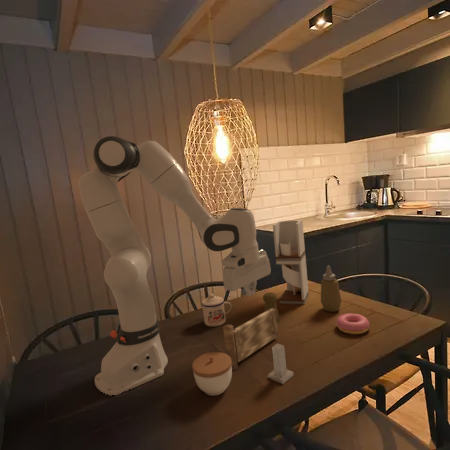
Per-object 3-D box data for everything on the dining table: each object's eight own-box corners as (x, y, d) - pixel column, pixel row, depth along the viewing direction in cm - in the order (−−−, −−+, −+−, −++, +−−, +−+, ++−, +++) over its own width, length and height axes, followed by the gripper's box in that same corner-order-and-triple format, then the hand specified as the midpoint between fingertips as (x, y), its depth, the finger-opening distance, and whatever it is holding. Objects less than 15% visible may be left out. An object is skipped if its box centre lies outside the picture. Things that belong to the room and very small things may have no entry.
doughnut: (353, 319, 120) (353, 308, 119) (377, 330, 110) (376, 319, 109) (329, 326, 116) (329, 315, 116) (352, 339, 106) (351, 327, 105)
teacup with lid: (207, 329, 125) (203, 300, 124) (201, 320, 134) (198, 293, 132) (236, 321, 129) (233, 293, 127) (228, 313, 138) (225, 287, 136)
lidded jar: (187, 392, 88) (183, 360, 87) (214, 372, 96) (210, 342, 95) (215, 407, 81) (211, 372, 80) (242, 384, 89) (238, 352, 88)
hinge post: (232, 371, 95) (227, 330, 94) (225, 368, 98) (220, 327, 96) (239, 366, 98) (235, 326, 96) (232, 363, 100) (228, 323, 98)
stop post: (283, 384, 87) (280, 353, 86) (268, 377, 91) (265, 347, 89) (293, 375, 90) (290, 345, 89) (279, 369, 94) (276, 340, 93)
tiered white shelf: (285, 294, 153) (279, 221, 148) (308, 294, 149) (302, 219, 144) (280, 303, 143) (272, 225, 138) (304, 304, 138) (297, 223, 134)
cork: (279, 316, 129) (276, 290, 128) (280, 323, 123) (277, 295, 122) (264, 317, 130) (261, 291, 128) (264, 324, 124) (261, 297, 122)
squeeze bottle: (317, 308, 133) (313, 265, 131) (333, 303, 135) (330, 262, 133) (329, 315, 126) (325, 270, 123) (346, 310, 128) (343, 266, 125)
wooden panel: (238, 362, 98) (234, 332, 97) (234, 360, 99) (231, 330, 98) (278, 335, 112) (275, 308, 110) (274, 334, 113) (271, 308, 111)
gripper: (258, 247, 117) (263, 284, 119) (217, 262, 104) (223, 303, 105) (272, 248, 113) (276, 286, 115) (231, 264, 99) (237, 307, 101)
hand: (251, 294), depth 110 cm, fingers closed
